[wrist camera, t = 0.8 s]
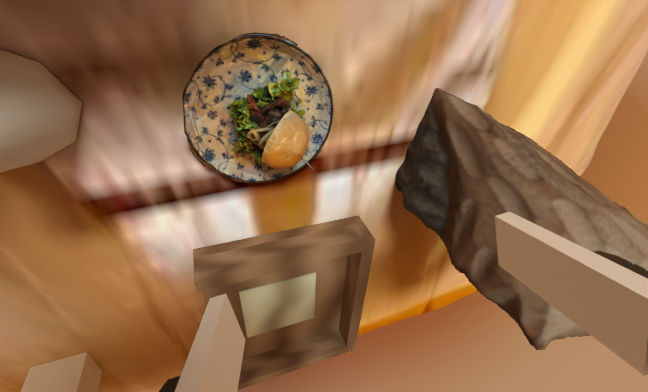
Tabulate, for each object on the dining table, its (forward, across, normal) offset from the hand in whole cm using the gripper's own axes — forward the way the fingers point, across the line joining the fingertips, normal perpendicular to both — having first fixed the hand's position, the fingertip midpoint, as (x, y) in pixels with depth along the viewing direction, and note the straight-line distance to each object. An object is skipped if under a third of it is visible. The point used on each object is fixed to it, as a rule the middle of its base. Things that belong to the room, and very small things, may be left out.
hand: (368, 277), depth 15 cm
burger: (+14, -4, +8) cm, 17 cm away
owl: (+20, +14, 0) cm, 25 cm away
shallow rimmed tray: (+22, -8, -14) cm, 27 cm away
